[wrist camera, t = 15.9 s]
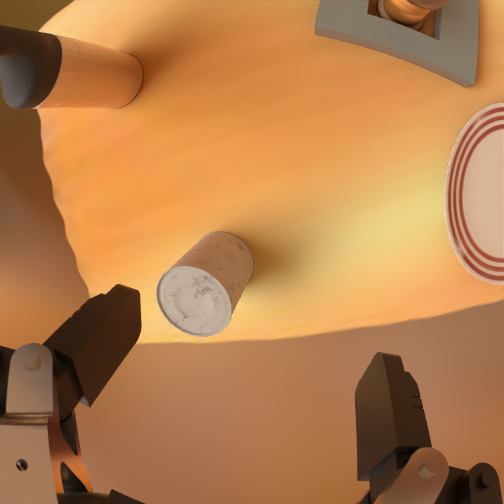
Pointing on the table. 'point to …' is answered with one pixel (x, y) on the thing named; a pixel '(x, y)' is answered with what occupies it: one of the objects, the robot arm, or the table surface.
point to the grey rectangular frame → (410, 36)
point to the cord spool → (408, 11)
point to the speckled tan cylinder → (205, 284)
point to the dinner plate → (478, 195)
